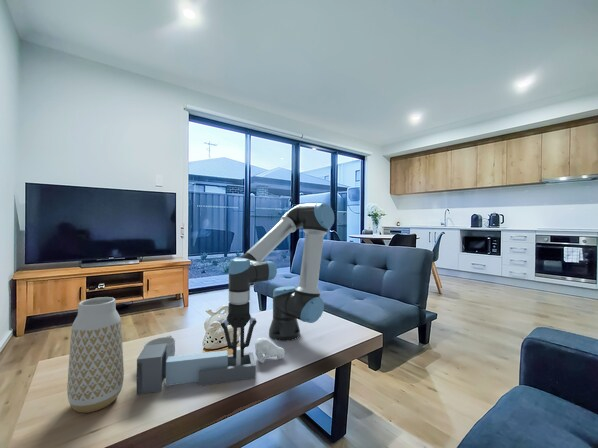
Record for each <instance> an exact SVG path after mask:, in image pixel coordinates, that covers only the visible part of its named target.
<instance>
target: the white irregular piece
mask: <svg viewBox="0 0 598 448" xmlns="http://www.w3.org/2000/svg"><path fill="white" fill-rule="evenodd" d="M254 345H255V346H254V347H255V356H256V358H257V360H258V362H259V363H261V364H263V363H264V360H267V359H269V358H272V357H276V359H277V360H280V359H282V358H283V356H285V350H284V348H283V347H280V346H277V345H276V344H275V343H274V342H273V341H271V340H270V339H269V338H267V337H259V338H257V339H256V340H255V342H254Z"/></svg>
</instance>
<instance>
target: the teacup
mask: <svg viewBox="0 0 598 448" xmlns="http://www.w3.org/2000/svg"><path fill="white" fill-rule="evenodd" d="M175 342H176V339H175V338H174V337H172V335H169V334H168V335H166V336H164V337H163V336H162V337H157V338H155V339H152V340H151V339H150V340H149V341H147V342H146V343H144V345H143V348H144V347H145V345H155V344H165V343H167V359H168V357H170V356H176V343H175Z"/></svg>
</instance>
